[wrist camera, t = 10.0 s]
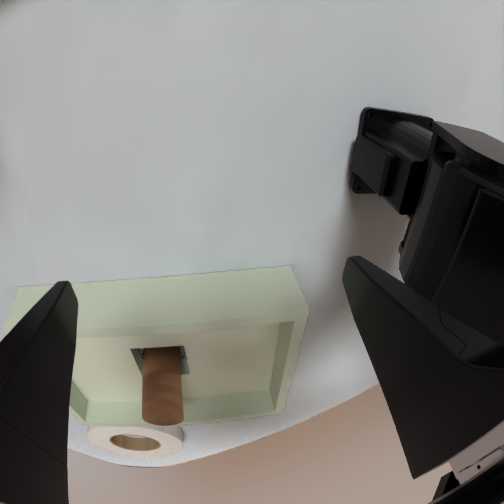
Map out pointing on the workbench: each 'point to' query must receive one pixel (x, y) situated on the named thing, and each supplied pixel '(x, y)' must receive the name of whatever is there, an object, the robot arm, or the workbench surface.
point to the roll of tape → (138, 440)
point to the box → (184, 342)
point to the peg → (162, 386)
